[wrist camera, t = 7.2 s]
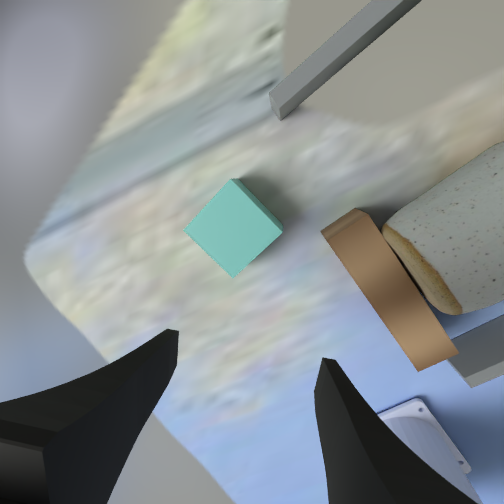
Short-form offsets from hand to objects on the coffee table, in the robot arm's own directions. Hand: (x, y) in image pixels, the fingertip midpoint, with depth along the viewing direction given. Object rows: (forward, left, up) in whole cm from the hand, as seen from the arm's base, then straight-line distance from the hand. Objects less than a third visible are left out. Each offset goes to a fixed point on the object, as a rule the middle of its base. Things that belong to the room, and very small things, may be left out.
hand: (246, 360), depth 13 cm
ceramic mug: (-5, -14, -10) cm, 18 cm away
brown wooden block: (-5, -8, -10) cm, 14 cm away
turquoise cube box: (+5, -2, -10) cm, 11 cm away
